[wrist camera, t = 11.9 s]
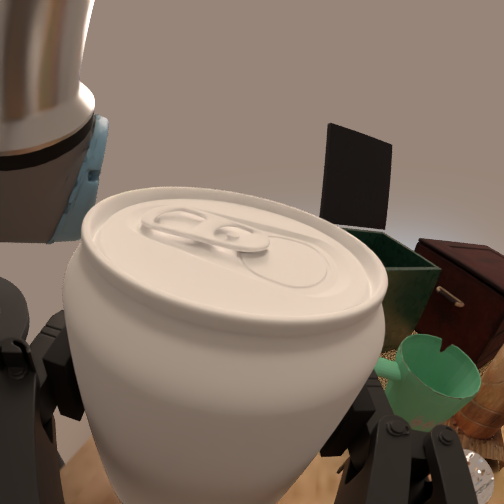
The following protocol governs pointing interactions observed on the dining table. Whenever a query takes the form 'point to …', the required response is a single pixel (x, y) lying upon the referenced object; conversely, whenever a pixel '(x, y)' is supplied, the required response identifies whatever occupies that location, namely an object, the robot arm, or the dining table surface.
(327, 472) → the dining table surface
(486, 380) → the bird sculpture
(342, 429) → the robot arm
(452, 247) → the storage box
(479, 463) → the wineglass
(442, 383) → the mug
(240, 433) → the beverage can
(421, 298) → the green cube bin
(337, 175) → the black flat panel
